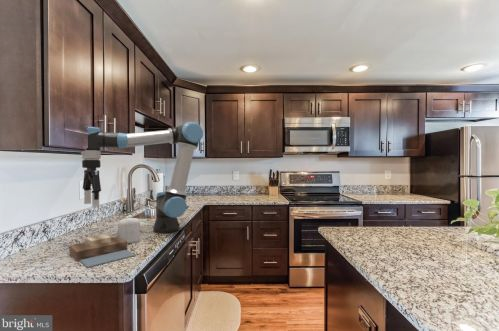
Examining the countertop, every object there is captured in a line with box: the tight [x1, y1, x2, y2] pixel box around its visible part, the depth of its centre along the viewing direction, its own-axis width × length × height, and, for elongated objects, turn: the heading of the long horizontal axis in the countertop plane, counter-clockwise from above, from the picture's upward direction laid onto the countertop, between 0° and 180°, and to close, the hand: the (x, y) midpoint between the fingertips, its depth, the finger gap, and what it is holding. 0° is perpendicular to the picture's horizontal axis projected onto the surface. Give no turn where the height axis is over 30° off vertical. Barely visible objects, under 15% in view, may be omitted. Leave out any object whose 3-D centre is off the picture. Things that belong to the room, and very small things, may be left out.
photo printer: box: [117, 217, 141, 244], centre depth 133 cm, size 10×4×12 cm, turn 123°
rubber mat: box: [79, 249, 136, 269], centre depth 111 cm, size 18×10×1 cm, turn 137°
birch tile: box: [85, 233, 112, 247], centre depth 119 cm, size 8×8×2 cm
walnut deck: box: [68, 235, 128, 262], centre depth 118 cm, size 20×12×4 cm, turn 137°
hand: (91, 205), depth 126 cm, fingers open, 11 cm apart
